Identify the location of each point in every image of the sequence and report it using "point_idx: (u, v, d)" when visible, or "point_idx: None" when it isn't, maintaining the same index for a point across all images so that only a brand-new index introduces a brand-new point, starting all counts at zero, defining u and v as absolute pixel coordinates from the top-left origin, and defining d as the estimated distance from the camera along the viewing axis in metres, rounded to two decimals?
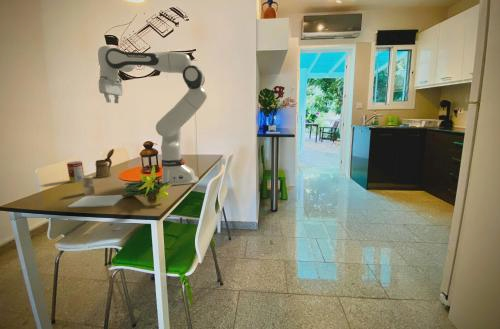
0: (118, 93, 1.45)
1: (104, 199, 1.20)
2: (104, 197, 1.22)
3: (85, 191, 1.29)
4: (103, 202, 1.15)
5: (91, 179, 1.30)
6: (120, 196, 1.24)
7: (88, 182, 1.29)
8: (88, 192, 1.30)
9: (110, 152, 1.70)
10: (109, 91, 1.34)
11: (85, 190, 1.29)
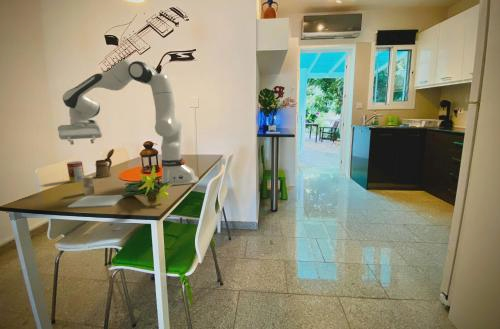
0: (90, 133, 1.40)
1: (104, 199, 1.20)
2: (104, 197, 1.22)
3: (85, 191, 1.29)
4: (103, 202, 1.15)
5: (91, 179, 1.30)
6: (120, 196, 1.24)
7: (88, 182, 1.29)
8: (88, 192, 1.30)
9: (110, 152, 1.70)
10: (67, 133, 1.35)
11: (85, 190, 1.29)
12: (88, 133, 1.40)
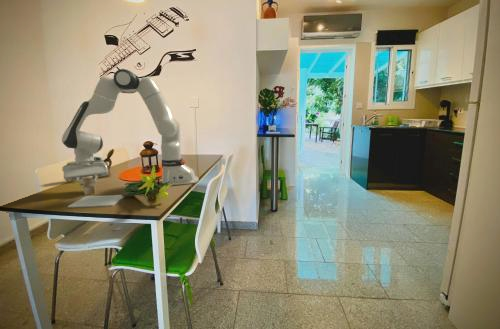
0: (96, 172, 1.34)
1: (104, 199, 1.20)
2: (104, 197, 1.22)
3: (85, 191, 1.29)
4: (103, 202, 1.15)
5: (91, 179, 1.30)
6: (120, 196, 1.24)
7: (88, 182, 1.29)
8: (88, 192, 1.30)
9: (110, 152, 1.70)
10: (72, 174, 1.28)
11: (85, 190, 1.29)
12: (94, 172, 1.33)
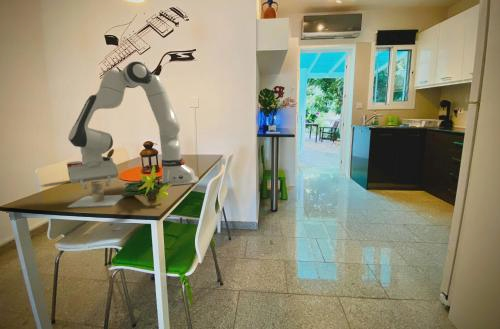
0: (105, 173, 1.21)
1: (104, 199, 1.20)
2: (104, 197, 1.22)
3: (94, 198, 1.16)
4: (103, 202, 1.15)
5: (101, 185, 1.17)
6: (120, 196, 1.24)
7: (97, 188, 1.16)
8: (97, 199, 1.17)
9: (110, 152, 1.70)
10: (79, 176, 1.15)
11: (94, 197, 1.16)
12: (103, 174, 1.20)
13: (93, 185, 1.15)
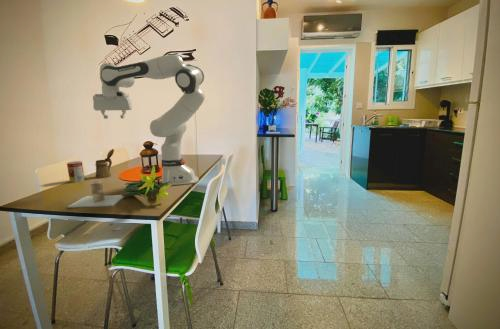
0: (119, 108, 1.41)
1: (104, 199, 1.20)
2: (104, 197, 1.22)
3: (94, 198, 1.16)
4: (103, 202, 1.15)
5: (101, 185, 1.17)
6: (120, 196, 1.24)
7: (97, 188, 1.16)
8: (97, 199, 1.17)
9: (110, 152, 1.70)
10: (100, 108, 1.40)
11: (94, 197, 1.16)
12: (117, 108, 1.41)
13: (93, 185, 1.15)
